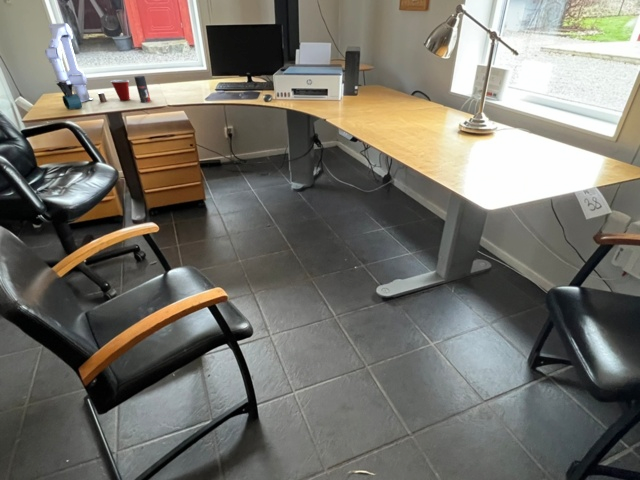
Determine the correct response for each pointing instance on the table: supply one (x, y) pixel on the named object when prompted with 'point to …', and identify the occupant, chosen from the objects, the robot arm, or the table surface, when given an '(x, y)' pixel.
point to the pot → (72, 101)
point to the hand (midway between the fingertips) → (68, 95)
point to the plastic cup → (121, 89)
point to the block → (101, 96)
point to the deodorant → (142, 89)
